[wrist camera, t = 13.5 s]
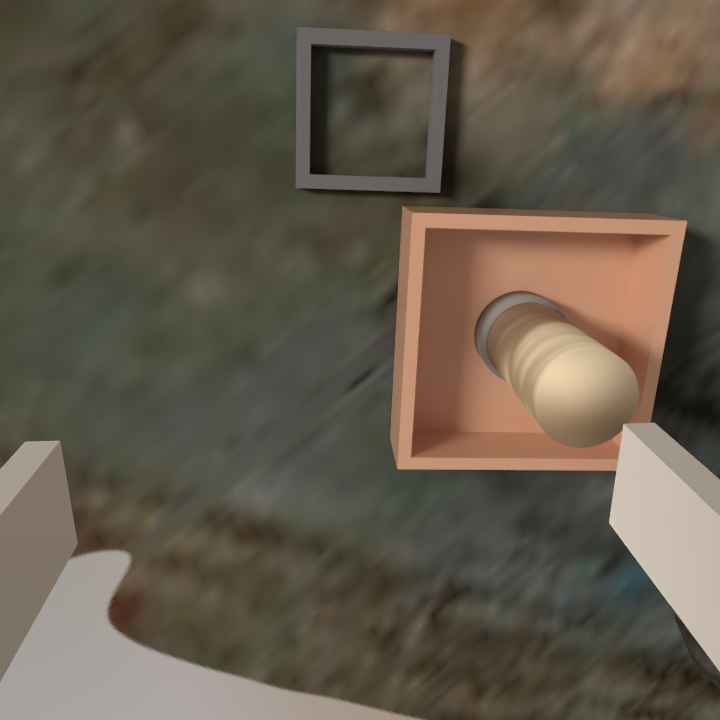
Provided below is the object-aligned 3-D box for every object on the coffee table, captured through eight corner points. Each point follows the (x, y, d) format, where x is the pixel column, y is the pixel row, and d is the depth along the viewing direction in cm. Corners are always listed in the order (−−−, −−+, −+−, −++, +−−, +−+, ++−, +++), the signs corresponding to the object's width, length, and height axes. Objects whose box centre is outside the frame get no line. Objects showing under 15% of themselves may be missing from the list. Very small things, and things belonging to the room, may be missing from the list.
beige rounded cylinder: (478, 289, 42) (536, 342, 30) (564, 291, 42) (654, 344, 31) (470, 373, 44) (522, 453, 32) (553, 374, 44) (634, 454, 32)
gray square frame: (297, 30, 37) (296, 27, 36) (447, 37, 38) (451, 34, 37) (296, 187, 40) (295, 188, 39) (437, 191, 40) (440, 192, 40)
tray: (402, 205, 41) (412, 212, 36) (648, 213, 42) (687, 220, 37) (390, 438, 45) (397, 469, 41) (611, 440, 46) (641, 470, 42)
